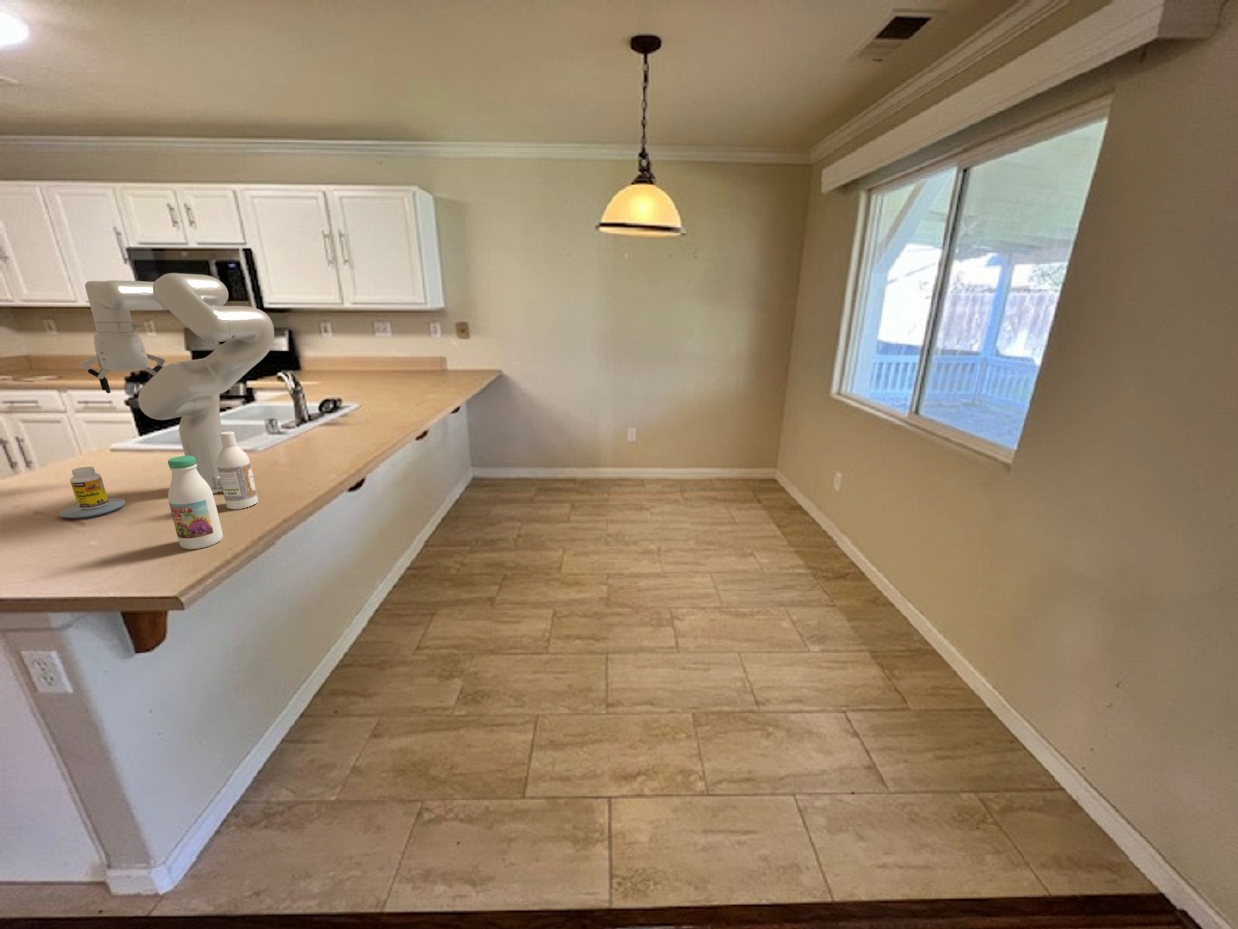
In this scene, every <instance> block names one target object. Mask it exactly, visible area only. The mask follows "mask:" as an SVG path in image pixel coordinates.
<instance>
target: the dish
mask: <svg viewBox="0 0 1238 929" xmlns="http://www.w3.org/2000/svg"><path fill="white" fill-rule="evenodd" d="M108 501H109V502H108V504H107V505H105V506H103V507H100V508H96V509H90V510H83V509H80V508H79V507H78V504H77V503H76V504H74V505H70V506H67V507H65V508H63V509H62V510H60V511H59V513H58V514H59V516H60V517H61V518H65V519H66V518H67V519H77V520H78V519H79V520H80V519H90V518H95V517H99V516H103V515H107V514H110V513H113V512H115V511H117V510H118V509H121V508H122V507H124V506H125V505H126V500H124V499H123V498H115V497H114V498H108Z"/></svg>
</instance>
